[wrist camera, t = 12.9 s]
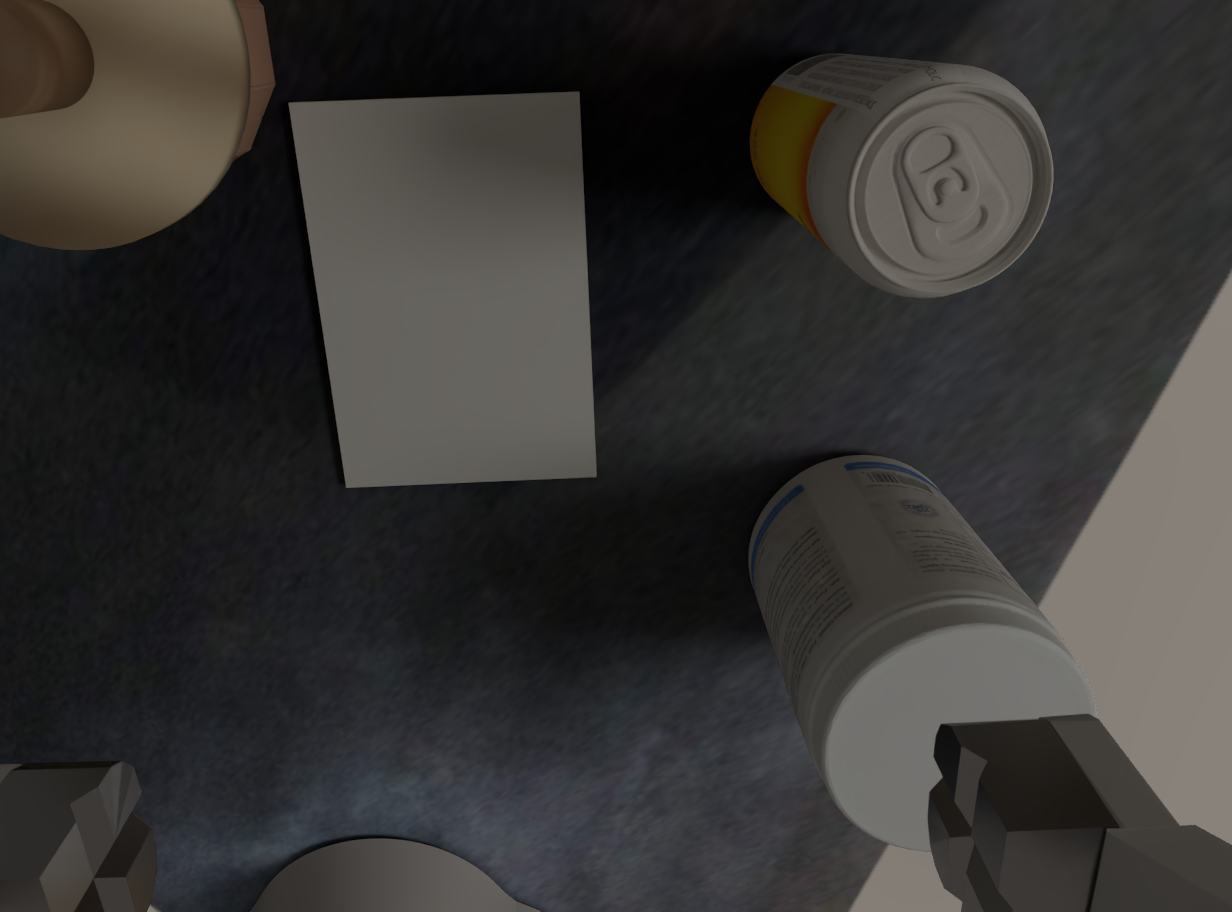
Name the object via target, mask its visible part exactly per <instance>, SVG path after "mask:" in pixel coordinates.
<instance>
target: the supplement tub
mask: <svg viewBox="0 0 1232 912" xmlns="http://www.w3.org/2000/svg"><path fill="white" fill-rule="evenodd" d="M748 563H749V573H750V579H751V583H752V587H753V589H754V592H755V595H756V598H757V601H758V604H759V607H760V610H761V613H762V616H763V619H764V622H765V625H766V628H767V631H768V634H769V637H770V640H771V643H772V646H773V649H774V652H775V655H776V658H777V661H778V664H779V667H780V669H781V672H782V675H783V678H784V681H785V684H786V687H787V690H788V693H789V696H790V699H791V702H792V705H793V708H794V711H795V714H796V717H797V720H798V722H799V725H800V728H801V731H802V734H803V737H804V739H805V742H806V745H807V748H808V750H809V753H810V756H811V758H812V760H813V762H814V764H815V767H816V769H817V771H818V773H819V775H820V776H821V778H822V780H823V781H824V783H825V785H826V787H827V789H828V791H829V794H830V796H831V798H832V799H833V801H834V803H835V804H836V805H837V807H838V808H839V809H840V811H841V812H842V813H843V814H844V816H845V817H846V818H847V819H849V820H850V821H851V822H852V823H853V824H854V825H855V826H857V827H858V828H859V829H861V830H862V831H864V832H865V833H867V834H869V835H870V836H872V837H874V838H876V839H878V840H881V841H883V842H885V843H888V844H891V845H894V846H897V847H902V848H905V849H910V850H917V851H925V852H932V851H931V848H930V840H929V830H928V820H927V816H928V803H929V792H930V790H931V789H932V788H933V787H934V786H935V785H936V784H937V783H938V782H939V781H940V780H941V779H942V777H943V776H942V774H941V772H940V770H939V768H938V766H937V763H936V761H935V759H934V757H933V754H934V746H935V738H936V734H937V732H938V729H939V727H940V725H941V724H945V723H965V722H984V721H1004V720H1023V719H1038V718H1039V717H1048V716H1062V715H1076V714H1090V715H1092V716H1094V717H1095V718H1097V709H1096V703H1095V697H1094V694H1093V691H1092V688H1091V686H1090V683H1089V681H1088V680H1087V677H1086V675H1085V674H1084V672H1083V671H1082V669H1081V668H1080V666H1079V665H1078V664H1077V662H1076V659H1075V657H1074V655H1073V653H1072V651H1071V650H1070V648H1069V647H1068V646H1067V644H1066V642H1065V641H1064V639H1063V638H1062V637H1061V636H1060V635H1059V633H1058V632H1057V631H1056V630H1055V628H1054V627H1053V626H1052V625H1051V624H1050V622H1049V621H1048V620H1047V619H1046V617H1045V616H1044V615H1043V614H1042V612H1041V611H1040V610H1039V609H1038V607H1037V606H1036V605H1035V604H1034V603H1033V601H1032V600H1031V599H1030V598H1029V597H1028V595H1027V594H1026V593H1025V592H1024V591H1023V590H1022V588H1021V587H1020V586H1019V585H1018V584H1017V582H1016V581H1015V580H1014V579H1013V578H1012V576H1011V575H1010V574H1009V573H1008V571H1007V570H1006V569H1005V568H1004V567H1003V565H1002V564H1001V563H1000V562H999V561H998V559H997V558H996V557H995V556H994V555H993V553H992V552H991V551H990V550H989V548H988V547H987V546H986V545H985V544H984V543H983V542H982V540H981V539H980V538H979V537H978V535H977V534H976V533H975V532H974V531H973V529H972V528H971V527H970V526H969V525H968V523H967V522H966V521H965V520H964V518H963V517H962V516H961V515H960V514H959V513H958V511H957V510H956V509H955V508H954V507H953V505H952V504H951V503H950V502H949V500H948V499H947V498H946V497H945V496H944V495H943V494H942V493H941V491H940V490H939V489H938V488H937V486H936V485H935V484H934V483H932V482H931V481H930V480H929V479H928V478H927V477H926V476H924V475H923V474H922V473H920V472H919V471H917V470H916V469H914V468H912V467H911V466H909V465H907V464H905V463H902V462H900V461H897V460H893V459H890V458H886V457H880V456H873V455H852V456H844V457H839V458H834V459H831V460H827V461H824V462H821V463H818V464H816V465H814V466H812V467H810V468H808V469H806V470H804V471H802V472H801V473H799V474H798V475H796V476H795V477H794V478H792V479H791V480H790V481H788V482H787V483H786V484H785V485H784V486H783V487H782V488H781V489H780V490H779V491H778V492H777V493H776V494H775V495H774V496H773V497H772V498H771V499H770V501H769V502H768V503H767V505H766V506H765V508H764V509H763V511H762V512H761V514H760V516H759V518H758V520H757V522H756V524H755V526H754V529H753V532H752V536H751V540H750V545H749V557H748Z"/></svg>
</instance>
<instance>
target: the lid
mask: <svg viewBox="0 0 1232 912" xmlns="http://www.w3.org/2000/svg"><path fill="white" fill-rule="evenodd" d="M250 87H251V71H250V60H249V50H248V44H247V40H246V35H245V31H244V26H243V22H242V19H241V16H240V13H239V10H238V7H237V4H236V1H235V0H0V234H2V235H4V236H7V237H9V238H12V239H15V240H18V241H22V242H26V243H29V244H33V245H37V246H42V247H49V248H56V249H63V250H92V249H102V248H110V247H115V246H119V245H123V244H127V243H131V242H134V241H136V240H139V239H141V238H144V237H146V236H149V235H151V234H153V233H156V232H158V231H160V230H162V229H164V228H166V227H168V226H170V225H171V224H173V223H175V222H176V221H178V220H180V219H181V218H183V217H185V216H186V215H188V214H189V213H190V212H191V211H192V210H194V209H195V208H196V207H197V206H199V205H200V204H201V203H202V202H203V201H204V200H205V199H206V198H207V197H208V196H209V195H210V193H211V192H212V191H213V190H214V189H215V188H216V187H217V186H218V184H219V183H220V181H221V180H222V178H223V177H224V175H225V174H226V172H227V171H228V169H229V168H230V166H231V163H232V161H233V159H234V157H235V155H236V153H237V151H238V148H239V146H240V143H241V140H242V136H243V133H244V130H245V126H246V123H247V116H248V110H249V104H250Z"/></svg>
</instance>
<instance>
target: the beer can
mask: <svg viewBox="0 0 1232 912" xmlns="http://www.w3.org/2000/svg"><path fill="white" fill-rule="evenodd" d="M750 153H751V160H752V164H753V167H754V170H755V173H756V176H757V178H758V179H759V181H760V183H761V185H762V186H763V188H764V189H765V191H766V192H767V193H768V194H769V195H770V197H771V198H772V199H774V200H775V201H776V202H777V203H778V204H779V205H780V206H781V207H783V208H784V209H785V210H786V211H787V212H788V213H789V214H790V215H791V216H793V217H794V218H795V219H796V220H797V221H798V222H799V223H800V224H802V225H803V226H804V227H805V228H806V229H807V230H808V231H809V232H810V233H812V234H813V235H814V236H815V237H816V238H817V239H818V240H819V241H821V242H822V243H823V244H824V245H825V246H826V247H827V248H828V249H829V250H831V251H832V252H833V253H834V254H835V255H836V256H837V257H838V258H840V259H841V260H842V261H843V262H844V263H845V264H846V265H847V266H848V267H850V268H851V269H852V270H853V271H854V272H855V273H856V274H857V275H859V276H860V277H861V278H862V279H864V280H865V281H867V282H868V283H870V284H871V285H873V286H875V287H877V288H879V289H881V290H883V291H886V292H889V293H891V294H895V295H899V296H904V297H911V298H934V297H942V296H947V295H951V294H955V293H958V292H961V291H964V290H966V289H969V288H972V287H974V286H977V285H980V284H982V283H984V282H986V281H988V280H990V279H991V278H993V277H995V276H996V275H998V274H1000V273H1001V272H1002V271H1004V270H1005V269H1006V268H1008V267H1009V266H1010V265H1011V264H1012V263H1013V262H1014V261H1015V260H1017V259H1018V258H1019V257H1020V255H1021V254H1022V253H1023V252H1024V251H1025V250H1026V249H1027V247H1028V246H1029V244H1030V243H1031V242H1032V240H1033V239H1034V237H1035V236H1036V234H1037V232H1038V230H1039V229H1040V227H1041V225H1042V223H1043V220H1044V218H1045V216H1046V213H1047V210H1048V207H1049V204H1050V199H1051V194H1052V187H1053V162H1052V155H1051V151H1050V147H1049V144H1048V140H1047V136H1046V132H1045V130H1044V127H1043V125H1042V122H1041V120H1040V118H1039V116H1038V114H1037V113H1036V111H1035V109H1034V108H1033V106H1032V105H1031V103H1030V102H1029V101H1028V99H1027V98H1026V97H1025V96H1024V95H1023V94H1022V93H1021V92H1020V91H1019V90H1018V89H1017V88H1016V87H1014V86H1013V85H1012V84H1011V83H1009V82H1008V81H1007V80H1005V79H1003V78H1001V77H1000V76H998V75H996V74H994V73H991V72H989V71H986V70H984V69H980V68H976V67H973V66H966V65H958V64H947V63H937V62H926V61H915V60H904V59H893V58H882V57H871V56H860V55H849V54H823V55H818V56H814V57H811V58H808V59H806V60H803V61H801V62H799V63H797V64H795V65H793V66H792V67H790V68H789V69H788V70H786V71H785V72H784V73H782V74H781V75H780V76H779V77H778V78H777V79H776V80H775V81H774V82H773V83H772V84H771V86H770V87H769V88H768V90H767V91H766V92H765V94H764V95H763V97H762V99H761V101H760V103H759V105H758V107H757V109H756V112H755V115H754V118H753V121H752V126H751V132H750Z"/></svg>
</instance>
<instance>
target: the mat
mask: <svg viewBox="0 0 1232 912" xmlns="http://www.w3.org/2000/svg"><path fill="white" fill-rule="evenodd" d="M289 110H290V116H291V123H292V130H293V136H294V143H295V150H296V156H297V163H298V170H299V176H300V183H301V190H302V196H303V203H304V210H305V216H306V223H307V230H308V236H309V243H310V249H311V256H312V263H313V269H314V276H315V283H316V289H317V296H318V303H319V309H320V316H321V323H322V329H323V336H324V343H325V349H326V356H327V363H328V369H329V376H330V383H331V389H332V396H333V403H334V409H335V416H336V423H337V429H338V436H339V443H340V449H341V456H342V463H343V469H344V476H345V483H346V488H352V487H375V486H398V485H421V484H445V483H468V482H491V481H514V480H537V479H561V478H584V477H597V472H596V450H595V428H594V405H593V383H592V361H591V339H590V317H589V294H588V272H587V250H586V228H585V205H584V183H583V161H582V139H581V117H580V94H579V91H577V92H550V93H523V94H497V95H470V96H444V97H417V98H390V99H364V100H337V101H310V102H290V103H289Z"/></svg>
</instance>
